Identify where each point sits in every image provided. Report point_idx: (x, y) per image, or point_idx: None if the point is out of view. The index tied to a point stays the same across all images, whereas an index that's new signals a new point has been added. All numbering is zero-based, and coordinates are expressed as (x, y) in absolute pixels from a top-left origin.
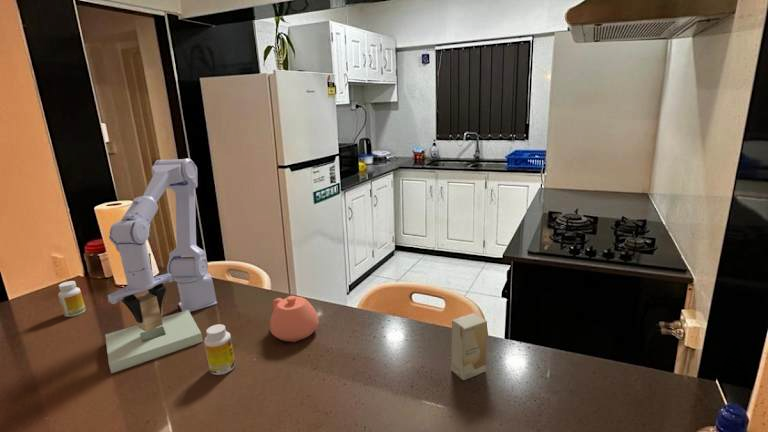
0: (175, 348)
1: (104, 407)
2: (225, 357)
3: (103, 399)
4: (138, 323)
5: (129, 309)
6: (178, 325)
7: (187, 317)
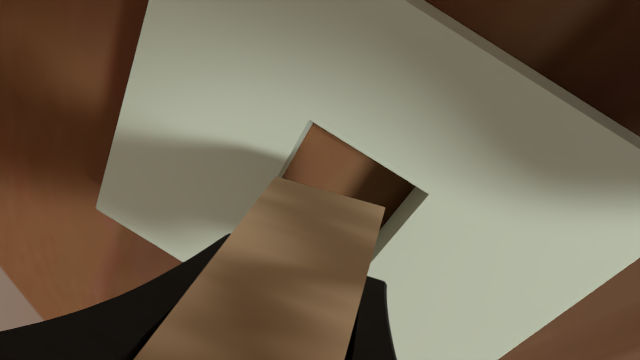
0: None
1: (68, 293)
2: None
3: (74, 267)
4: (262, 199)
5: (140, 289)
6: (460, 280)
7: (574, 271)
